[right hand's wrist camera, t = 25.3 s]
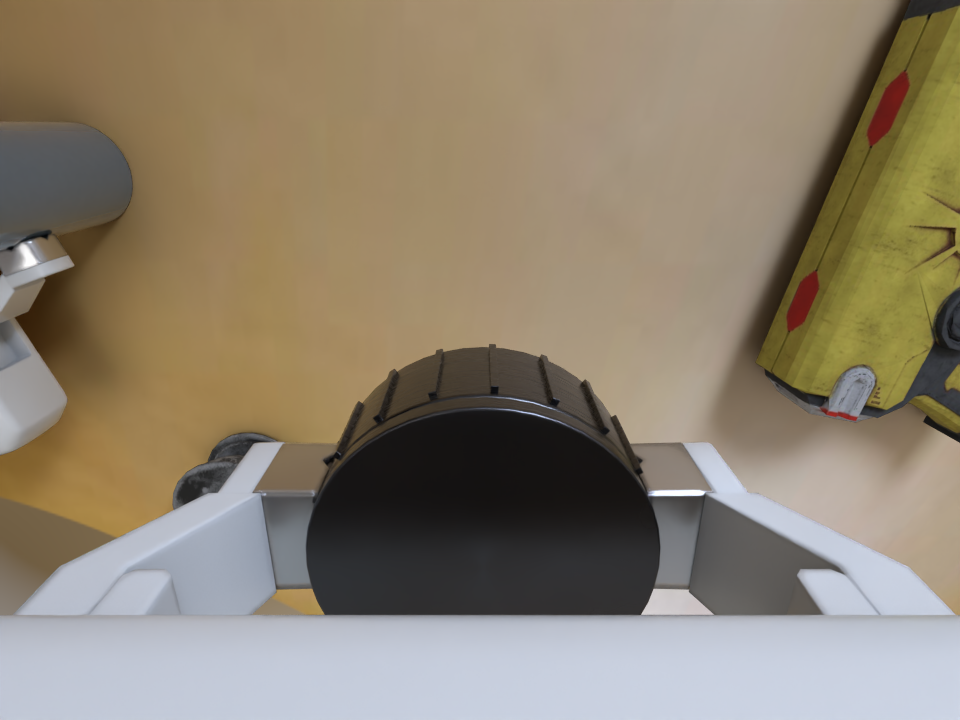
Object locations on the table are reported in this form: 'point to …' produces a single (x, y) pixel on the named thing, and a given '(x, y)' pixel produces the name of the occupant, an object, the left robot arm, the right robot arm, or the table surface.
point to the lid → (483, 497)
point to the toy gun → (885, 249)
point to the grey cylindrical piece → (58, 180)
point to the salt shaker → (215, 468)
